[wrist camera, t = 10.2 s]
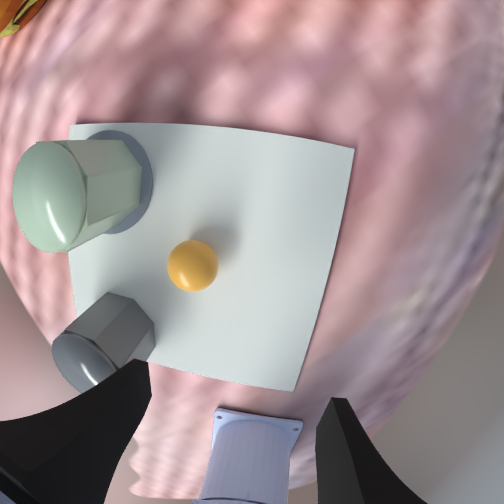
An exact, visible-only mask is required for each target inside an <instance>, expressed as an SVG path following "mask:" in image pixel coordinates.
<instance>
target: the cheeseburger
mask: <svg viewBox="0 0 504 504" xmlns="http://www.w3.org/2000/svg"><path fill="white" fill-rule="evenodd" d="M45 1H46V0H0V37H4V36H9V35H12V34H14V33H16V32H17V31H19V30H20V29H21V28H22V27H23V26H25V25H26V24H27V23H28V22H29V21H30V19H31V18H32V17H33V16H34V15H35V14H36V13H37V12H38V10H39V9H40V8H41V6H42V5H43V3H44V2H45Z"/></svg>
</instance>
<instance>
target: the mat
mask: <svg viewBox="0 0 504 504" xmlns="http://www.w3.org/2000/svg"><path fill="white" fill-rule="evenodd" d="M106 130H114V131H120V132H124V133H126V134H128V135H130V136H131V137H133V138H134V139H135V140H136V141H137V142H138V143H139V144H140V145H141V146H142V148H143V149H144V151H145V152H146V154H147V157H148V159H149V162H150V165H151V169H152V177H153V188H152V195H151V199H150V202H149V205H148V208H147V209H146V211H145V213H144V215H143V216H142V218H141V219H140V220H139V221H138V222H137V223H136V224H135V225H134V226H132V227H131V228H129V229H128V230H126V231H123V232H121V233H117V234H101V235H99V236H97V237H95V238H93V239H91V240H89V241H87V242H85V243H83V244H82V245H80V246H78V247H76V248H74V249H72V250H70V251H68V255H69V266H70V275H71V283H72V290H73V297H74V304H75V310H76V315H77V318H78V317H79V316H80V315H81V314H82V313H83V312H85V311H86V310H87V309H88V308H89V307H90V306H91V305H93V304H94V303H95V302H96V301H97V300H98V299H100V298H101V297H102V296H103V295H104V294H105V293H107V292H110V293H114V294H117V295H121V296H125V297H128V298H132V299H134V300H135V301H136V302H137V304H138V305H139V306H140V307H141V308H142V309H143V311H144V312H145V313H146V314H147V315H148V316H149V318H150V319H151V320H152V321H153V322H154V333H155V348H154V350H153V351H152V353H151V354H150V356H149V358H148V359H147V361H149V362H153V363H156V364H159V365H163V366H167V367H170V368H174V369H178V370H181V371H185V372H189V373H193V374H197V375H202V376H206V377H210V378H215V379H220V380H224V381H229V382H234V383H239V384H245V385H250V386H256V387H262V388H268V389H275V390H282V391H289V392H293V390H294V387H295V385H296V382H297V379H298V376H299V373H300V370H301V367H302V364H303V361H304V358H305V354H306V351H307V348H308V345H309V342H310V338H311V335H312V332H313V328H314V325H315V322H316V318H317V315H318V311H319V308H320V304H321V301H322V297H323V293H324V289H325V286H326V282H327V278H328V274H329V270H330V266H331V262H332V258H333V254H334V250H335V246H336V241H337V237H338V233H339V228H340V224H341V219H342V214H343V209H344V205H345V200H346V195H347V189H348V184H349V179H350V173H351V168H352V162H353V156H354V150H355V149H353V148H348V147H344V146H340V145H335V144H330V143H325V142H321V141H315V140H310V139H305V138H299V137H294V136H288V135H281V134H275V133H268V132H261V131H254V130H245V129H237V128H227V127H217V126H205V125H191V124H172V123H96V124H78V125H70V130H69V140H86V139H87V138H88V137H90V136H92V135H93V134H95V133H98V132H101V131H106ZM187 240H198V241H202V242H204V243H206V244H207V245H209V246H210V247H211V248H212V249H213V251H214V252H215V254H216V256H217V259H218V265H219V266H218V273H217V276H216V278H215V280H214V281H213V283H212V284H211V285H210V286H208V287H207V288H205V289H204V290H201V291H197V292H189V291H185V290H182V289H180V288H179V287H177V286H176V285H175V284H174V283H173V282H172V280H171V279H170V277H169V274H168V270H167V261H168V257H169V255H170V253H171V251H172V250H173V249H174V247H176V246H177V245H178V244H180V243H181V242H184V241H187Z"/></svg>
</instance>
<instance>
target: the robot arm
mask: <svg viewBox="0 0 504 504" xmlns="http://www.w3.org/2000/svg"><path fill="white" fill-rule="evenodd" d="M151 396H152V393H151V385H150V376H149V367H148V362H145V361H142V360H138V359H135V358H134V359H132V360H131V361H130V362H128V363H127V364H125V365H124V366H123V367H121V368H120V369H118V370H117V371H116V372H114V373H113V374H111V375H110V376H109V377H107V378H106V379H104V380H103V381H101V382H100V383H98V384H97V385H95V386H94V387H92V388H90V389H89V390H87V391H85V392H84V393H82V394H80V395H79V396H77V397H75V398H73V399H71V400H69V401H67V402H65V403H63V404H61V405H59V406H57V407H54V408H51V409H49V410H46V411H43V412H40V413H37V414H34V415H31V416H27V417H23V418H19V419H14V420H8V421H0V504H104V501H105V497H106V494H107V491H108V488H109V485H110V483H111V480H112V477H113V474H114V472H115V469H116V467H117V464H118V462H119V460H120V458H121V456H122V454H123V452H124V450H125V449H126V446H127V445H128V443H129V441H130V440H131V438H132V436H133V434H134V433H135V431H136V429H137V427H138V425H139V424H140V422H141V420H142V418H143V416H144V414H145V412H146V409H147V407H148V404H149V402H150V399H151ZM302 428H303V422H302V421H299V420H290V419H281V418H274V417H267V416H260V415H254V414H248V413H242V412H237V411H232V410H227V409H222V408H217V409H216V410H215V412H214V422H213V433H212V444H211V455H210V459H209V463H208V467H207V470H206V474H205V478H204V481H203V485H202V488H201V492H200V496H199V499H193V500H192V503H191V504H287V501H288V486H289V468H290V452H291V450H292V448H293V446H294V444H295V442H296V440H297V438H298V436H299V434H300V432H301V430H302ZM315 453H316V468H317V482H318V504H427V503H426V502H424V501H423V500H422V499H421V498H419V497H418V496H417V495H416V494H415V493H414V492H413V491H412V490H410V489H409V488H408V487H407V486H406V485H405V484H404V483H403V482H402V481H401V480H400V479H399V478H398V477H397V476H396V475H395V473H394V472H393V471H392V470H391V469H390V467H389V466H388V465H387V464H386V462H385V461H384V460H383V458H382V457H381V455H380V454H379V453H378V451H377V450H376V448H375V447H374V445H373V444H372V442H371V440H370V439H369V437H368V436H367V434H366V432H365V431H364V429H363V427H362V426H361V424H360V422H359V420H358V418H357V417H356V415H355V413H354V411H353V409H352V407H351V406H350V404H349V402H348V400H347V399H346V398H334V397H331V400H330V402H329V404H328V406H327V408H326V410H325V412H324V414H323V416H322V418H321V420H320V422H319V424H318V426H317V428H316V445H315Z"/></svg>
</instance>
